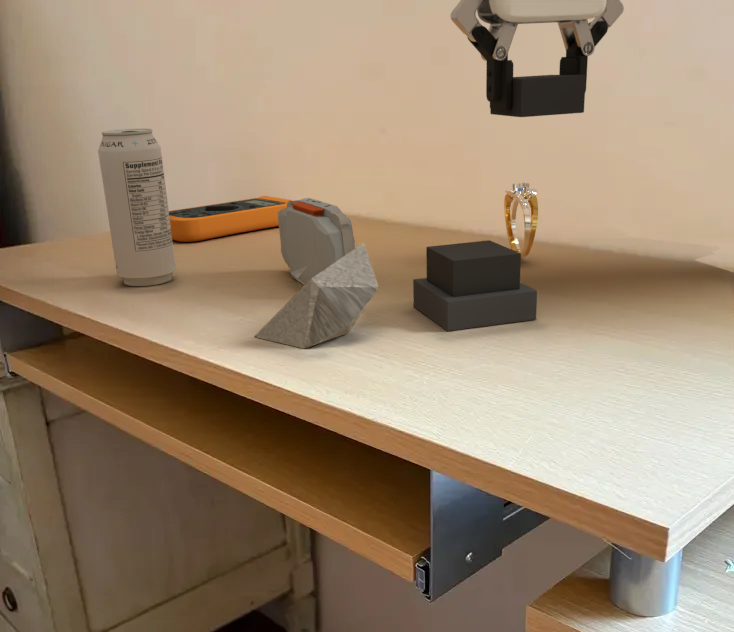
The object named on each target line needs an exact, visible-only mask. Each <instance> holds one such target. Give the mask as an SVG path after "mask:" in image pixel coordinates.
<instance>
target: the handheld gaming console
mask: <svg viewBox="0 0 734 632" xmlns="http://www.w3.org/2000/svg"><path fill="white" fill-rule="evenodd" d="M277 212H278V222H279V226H278V230H279V241H280V254H281V256H282V259H283V261H284V263H285V264H286V265H287V267H288V268H289V269H290V272H293V271H296V270H298V269H301V268H304V267H306V266H307V269H306V270H305V271H304V272H303V273H302V274H301V276H300V277H299V279H300V280H301V281H302V282H303V283H304V284H306V283H307V282H308V281H309V280H310V279H311V278H313V277H314V276H316V275H317V274H319V273H320V272H321V271H323V270H324V269H326V268H327V267H329V266H330V265H332V264H333V263H335V262H336V261H338V260H339V259H341V258H342V257H344V256H345V255H346V254H348V253H349V252H351V251H352V250H354V249H355V248H356V241H355V237H354V231H353V223H352V220H351V218H349V217H348V216H347V215H346V214H345V213H344V212H343V211H342V210H341V209H340V208H339V207H338V206H337V205H336V204H332V203H328V202H325V201H321V200H318V199H315V198H311V197H304V198H301V199H295V200H292V201H289V202H288V203H287V208H285V209H282V210H280V211H277ZM290 275H291V277H293V279H294V280H296V281H297V282H298V283H300V284H302V283H301V282H300V281H299V280H298V279H296V278H295V277H294V276H293V275H292V274H291V273H290Z"/></svg>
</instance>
